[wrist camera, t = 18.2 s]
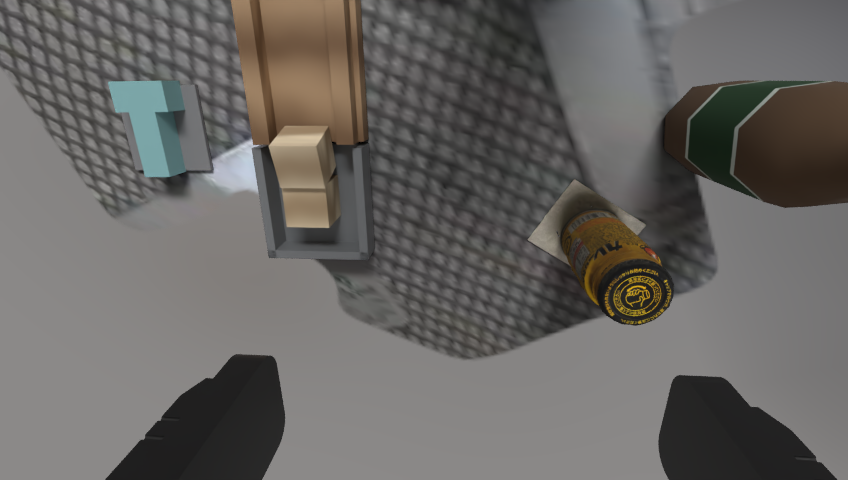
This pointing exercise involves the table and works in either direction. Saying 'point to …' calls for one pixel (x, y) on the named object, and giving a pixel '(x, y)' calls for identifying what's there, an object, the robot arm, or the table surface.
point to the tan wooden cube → (303, 156)
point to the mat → (182, 133)
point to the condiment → (606, 255)
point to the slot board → (303, 66)
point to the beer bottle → (766, 139)
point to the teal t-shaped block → (153, 122)
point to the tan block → (312, 205)
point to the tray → (345, 235)
